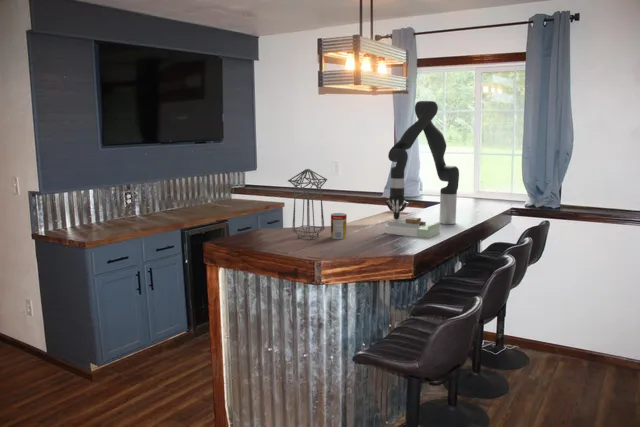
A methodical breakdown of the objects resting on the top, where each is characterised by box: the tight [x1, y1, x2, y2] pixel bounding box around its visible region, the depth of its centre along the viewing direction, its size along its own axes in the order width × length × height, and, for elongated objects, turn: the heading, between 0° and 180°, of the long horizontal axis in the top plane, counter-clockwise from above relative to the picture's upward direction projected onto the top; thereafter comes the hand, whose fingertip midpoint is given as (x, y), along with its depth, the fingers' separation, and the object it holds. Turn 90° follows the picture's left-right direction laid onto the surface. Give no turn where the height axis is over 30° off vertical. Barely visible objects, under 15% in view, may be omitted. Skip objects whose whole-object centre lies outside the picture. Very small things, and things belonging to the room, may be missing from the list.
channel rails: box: [387, 218, 427, 228], centre depth 290 cm, size 10×17×2 cm, turn 57°
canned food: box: [330, 212, 348, 240], centre depth 278 cm, size 8×8×12 cm
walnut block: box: [405, 216, 422, 226], centre depth 288 cm, size 6×6×4 cm
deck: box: [384, 221, 441, 239], centre depth 289 cm, size 14×25×6 cm, turn 57°
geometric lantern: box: [287, 168, 328, 241], centre depth 274 cm, size 16×16×35 cm
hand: (396, 219), depth 293 cm, fingers closed
